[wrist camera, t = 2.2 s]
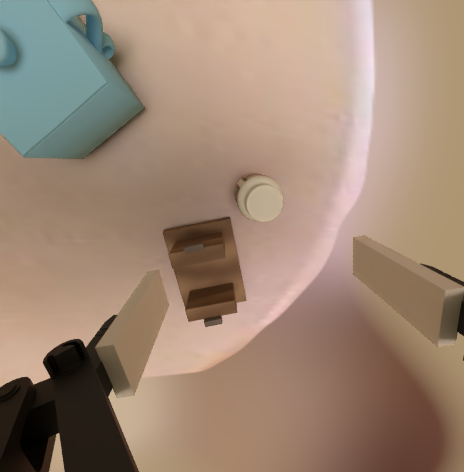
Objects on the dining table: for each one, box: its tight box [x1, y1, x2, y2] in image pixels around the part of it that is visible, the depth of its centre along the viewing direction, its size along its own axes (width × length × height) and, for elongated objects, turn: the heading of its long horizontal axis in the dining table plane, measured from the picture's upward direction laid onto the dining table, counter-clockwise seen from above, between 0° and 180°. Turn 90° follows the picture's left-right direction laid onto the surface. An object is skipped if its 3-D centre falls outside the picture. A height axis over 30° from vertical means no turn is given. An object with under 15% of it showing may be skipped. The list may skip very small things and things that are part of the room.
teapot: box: [0, 0, 145, 159], centre depth 22 cm, size 18×16×13 cm
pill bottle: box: [235, 173, 283, 222], centre depth 29 cm, size 5×5×10 cm
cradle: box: [163, 217, 246, 327], centre depth 33 cm, size 14×10×7 cm
